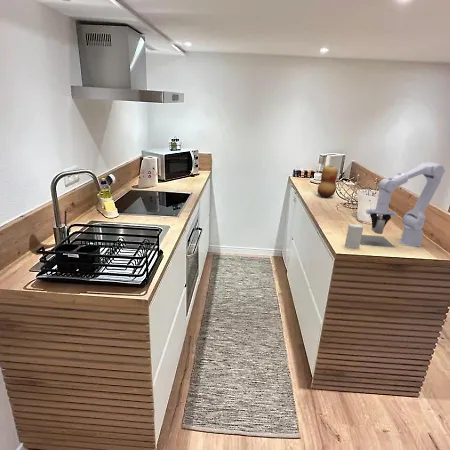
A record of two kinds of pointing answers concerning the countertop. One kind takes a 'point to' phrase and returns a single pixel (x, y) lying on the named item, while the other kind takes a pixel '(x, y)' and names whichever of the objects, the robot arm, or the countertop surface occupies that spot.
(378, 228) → the connector
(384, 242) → the mat
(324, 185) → the butternut squash
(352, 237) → the skincare box
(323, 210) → the countertop surface
